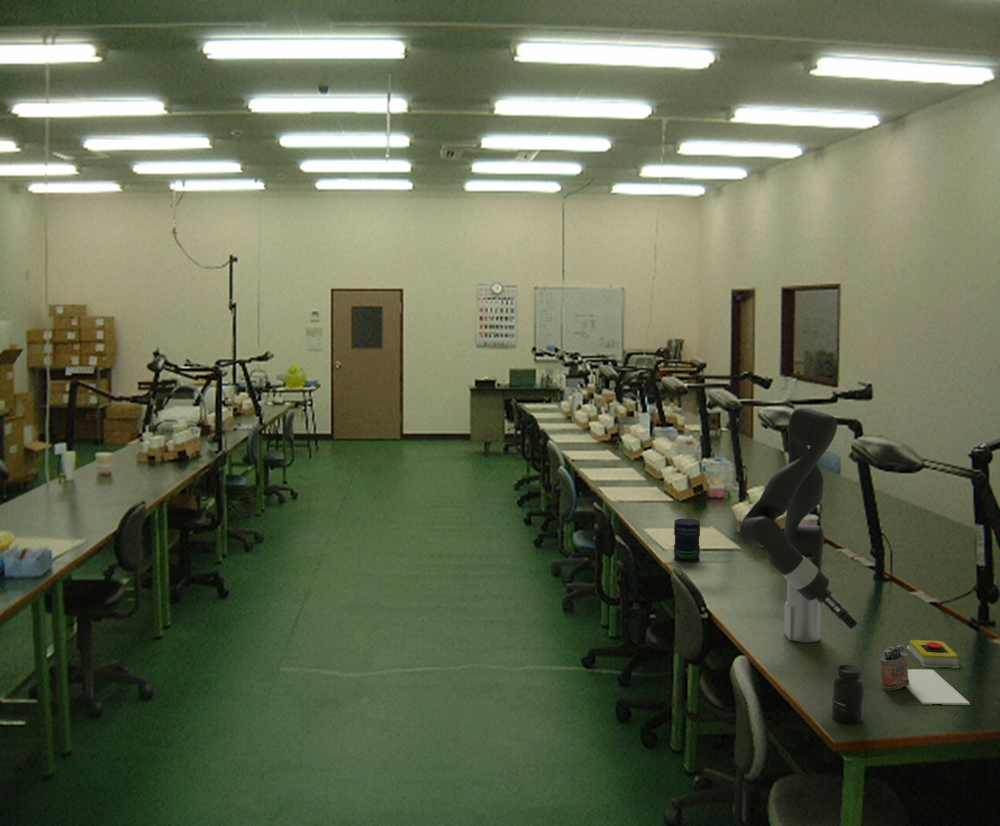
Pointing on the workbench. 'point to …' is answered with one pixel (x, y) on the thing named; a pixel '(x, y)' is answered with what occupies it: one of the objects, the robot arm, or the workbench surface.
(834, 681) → the supplement bottle
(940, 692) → the mat
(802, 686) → the workbench surface
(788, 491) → the robot arm
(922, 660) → the emergency button
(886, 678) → the lighter
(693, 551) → the storage jar
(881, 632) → the workbench surface
